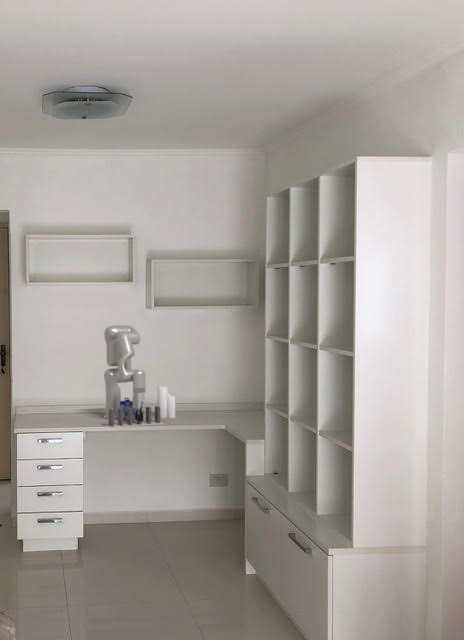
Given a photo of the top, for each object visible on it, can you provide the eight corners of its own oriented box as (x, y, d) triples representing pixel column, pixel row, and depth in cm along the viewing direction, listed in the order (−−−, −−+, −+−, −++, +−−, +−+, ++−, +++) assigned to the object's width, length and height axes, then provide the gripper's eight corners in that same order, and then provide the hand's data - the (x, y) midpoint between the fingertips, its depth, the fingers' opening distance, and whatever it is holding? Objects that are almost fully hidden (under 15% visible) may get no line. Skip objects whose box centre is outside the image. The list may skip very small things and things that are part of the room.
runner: (104, 425, 576) (104, 424, 576) (157, 421, 591) (157, 421, 591) (110, 428, 565) (110, 427, 565) (165, 424, 580) (165, 423, 580)
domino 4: (139, 424, 577) (139, 407, 576) (136, 422, 581) (136, 406, 581) (141, 423, 578) (141, 407, 577) (139, 422, 582) (139, 406, 582)
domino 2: (120, 425, 572) (120, 409, 571) (118, 424, 576) (117, 408, 576) (123, 425, 572) (123, 409, 572) (120, 424, 577) (120, 408, 576)
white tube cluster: (157, 418, 605) (157, 387, 604) (157, 417, 612) (157, 386, 611) (175, 418, 606) (175, 387, 605) (175, 416, 613) (175, 386, 612)
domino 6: (157, 423, 582) (157, 407, 582) (154, 422, 587) (154, 406, 586) (160, 423, 583) (160, 406, 582) (157, 422, 587) (157, 406, 587)
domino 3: (130, 425, 574) (130, 408, 574) (127, 424, 579) (127, 407, 578) (132, 425, 575) (132, 408, 575) (129, 424, 579) (129, 407, 579)
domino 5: (148, 423, 579) (148, 407, 579) (145, 422, 584) (145, 406, 584) (151, 423, 580) (151, 407, 580) (148, 422, 585) (148, 406, 584)
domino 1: (111, 426, 569) (111, 410, 569) (108, 425, 573) (108, 409, 573) (113, 426, 570) (113, 409, 569) (111, 425, 574) (111, 408, 574)
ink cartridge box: (119, 420, 598) (119, 397, 598) (125, 419, 603) (125, 396, 602) (130, 421, 592) (130, 398, 592) (136, 420, 596) (136, 397, 596)
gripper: (128, 389, 585) (128, 419, 585) (138, 392, 569) (138, 422, 570) (140, 389, 588) (140, 418, 589) (149, 391, 573) (150, 421, 573)
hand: (139, 420), depth 579 cm, fingers closed on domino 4, 4 cm apart
